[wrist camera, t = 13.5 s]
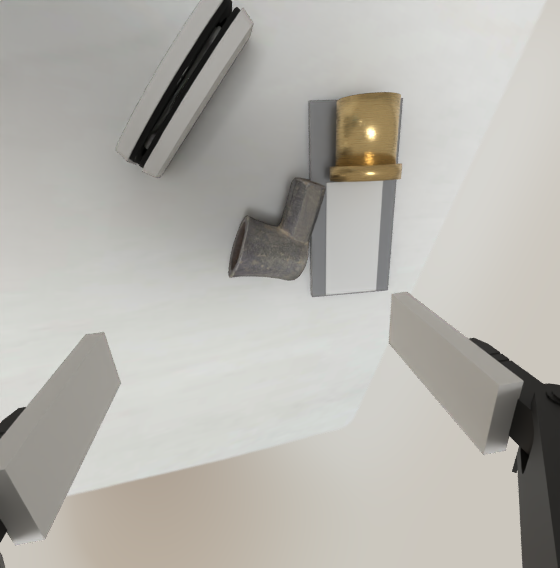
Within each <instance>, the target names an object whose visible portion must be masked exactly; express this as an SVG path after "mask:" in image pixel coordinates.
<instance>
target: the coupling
mask: <svg viewBox="0 0 560 568" xmlns="http://www.w3.org/2000/svg"><path fill="white" fill-rule="evenodd" d="M400 101H401V95H400V94H398V93H390V92H378V93H365V94H358V95H352V96H348V97H344V98H341V99H339V100H337V101H336V166H334V167H330V181H333V182H364V181H385V180H396V179H401V171H402V164H396V154H397V141H398V128H399V115H400Z"/></svg>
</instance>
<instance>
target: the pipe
mask: <svg viewBox="0 0 560 568" xmlns="http://www.w3.org/2000/svg"><path fill="white" fill-rule="evenodd" d="M325 190H326V187H325V186H323V185H321V184H319V183H317V182H313V181H311V180H307V179H303V178H295V179H294V180H293V181H292V183H291V187H290V191H289V195H288V198H287V202H286V207H285V210H284V214H283V217H282V220H281V223H280V225H279V226H278V227H276V226H272V225H268V224H265V223H262V222H260V221H257V220H255V219H253V218H251V217H249V216H246V217H245V218H244V220H243V221H242V223H241V225H240V227H239V230H238V232H237V235H236V238H235V241H234V244H233V248H232V252H231V257H230V263H229V271H228V273H229V277H230V278H232V277H240V276H256V277H271V278H279V279H283V280H295V279H296V278H298V277H299V276H300V275H301V273H302V272H303V270H304V268H305V266H306V263H307V259H308V247H309V240H310V238H311V235H312V232H313V229H314V226H315V223H316V221H317V218H318V214H319V211H320V208H321V205H322V202H323V198H324V194H325Z"/></svg>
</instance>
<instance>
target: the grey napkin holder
mask: <svg viewBox="0 0 560 568" xmlns="http://www.w3.org/2000/svg"><path fill="white" fill-rule="evenodd" d="M252 27H253V22H252V20H251V19H250V17H249V16H248V14H247V13H246V11H245V9H244V8H242V9H241V10H240V9H239V8H238V7H236V8H235V9H234V10H233V12H232V1H231V0H200V2H199V3H198V5H197V6H196V8H195V9H194V11H193V12H192V14H191V15H190V17H189V18H188V20H187V21H186V23H185V24H184V26H183V28H182V29H181V31H180V32H179V34H178V35H177V37H176V39H175V40H174V42H173V43H172V45H171V47H170V48H169V50H168V52H167V53H166V55H165V56H164V58H163V60H162V61H161V63H160V65H159V67H158V68H157V70H156V72H155V74H154V75H153V77H152V79H151V81H150V82H149V84H148V86H147V88H146V89H145V91H144V93H143V95H142V97H141V99H140V101H139V102H138V104H137V106H136V108H135V110H134V112H133V113H132V115H131V117H130V119H129V121H128V123H127V125H126V127H125V129H124V131H123V133H122V135H121V137H120V139H119V141H118V143H117V146H116V151H117V152H118V153H119V154H120V155H121V156H122V157H123V158H124V159H125V160H126V161H127V162H130V163H133V164H135V165H137V164H139V166H140V167H142V168H143V170H142V172H144V173H146V174H149V175H151V176H153V177H156V178H160V177H161V175H162V174H163V172H164V171H165V169H166V167H167V166H168V164H169V163H170V161H171V160H172V158H173V156H174V155H175V153H176V152H177V150H178V149H179V147H180V145H181V144H182V142H183V141H184V139H185V138H186V136H187V134H188V133H189V131H190V130H191V128H192V127H193V125H194V123H195V122H196V120H197V119H198V117H199V116H200V114H201V112H202V111H203V109H204V108H205V106H206V105H207V103H208V101H209V100H210V98H211V97H212V95H213V94H214V92H215V90H216V89H217V87H218V86H219V84H220V83H221V81H222V79H223V78H224V76H225V75H226V73H227V72H228V70H229V68H230V67H231V65H232V64H233V62H234V61H235V59H236V57H237V56H238V54H239V53H240V51H241V50H242V48H243V46H244V45H245V43H246V42H247V40H248V39H249V37H250V34H251V31H252ZM188 78H189V79H188ZM187 79H188V81H187V83H186V84H185V82H186V80H187ZM184 84H185V86H184V87H183V85H184ZM182 87H183V89H182V91H181V92H180V90H181V88H182ZM179 92H180V94H179V96H178V97H177V95H178V93H179ZM176 97H177V99H176V101H175V102H174V100H175V98H176ZM173 102H174V104H173V106H172V103H173ZM171 106H172V107H171Z"/></svg>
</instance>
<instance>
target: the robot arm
mask: <svg viewBox="0 0 560 568" xmlns="http://www.w3.org/2000/svg"><path fill="white" fill-rule="evenodd" d="M389 344H390V345H391V346H392V348H393V349H394V350H395V351H396V352H397V354H398V355H399V356H400V357H401V358H402V359H403V360H404V362H405V363H406V364H407V365H408V366H409V368H410V369H411V370H412V371H413V372H414V374H415V375H416V376H417V377H418V378H419V379H420V381H421V382H422V383H423V384H424V385H425V386H426V388H427V389H428V390H429V391H430V392H431V394H432V395H433V396H434V397H435V398H436V399H437V401H438V402H439V403H440V404H441V405H442V407H443V408H444V409H445V410H446V411H447V412H448V414H449V415H450V416H451V417H452V418H453V419H454V421H455V422H456V423H457V424H458V425H459V427H460V428H461V429H462V430H463V431H464V432H465V434H466V435H467V436H468V437H469V438H470V439H471V441H472V442H473V443H474V444H475V445H476V447H477V448H478V449H479V450H480V451H481V453H482V454H483V455H485V454H491V453H496V452H501V451H505V450H506V447H507V443H508V439H509V436H510V437H511V438H512V439H513V440H514V441H515V442H516V443H517V444H518V445H519V449H518V452H517V456H516V459H515V463H514V466H513V470H512V472H515V473H517V470H518V486H519V504H520V526H521V544H522V545H521V546H522V564H523V568H560V385H556V384H543V383H541V382H540V381H539V380H537V379H536V378H535V377H533V376H532V375H530V374H529V373H528V372H526V371H525V370H523V369H522V368H521V367H519V366H518V365H516V364H515V363H514V362H513V361H509V359H508V358H507V357H505V356H504V355H503V354H500V352H499V351H497V350H496V349H494V348H493V347H492V346H490V345H489V344H487V343H485V342H482V341H480V340H478V339H476V338H470V339H468V338H467V337H465V336H464V335H463V334H461V333H460V332H459V331H458V330H456V329H455V328H454V327H452V326H451V325H450V324H448V323H447V322H446V321H445V320H443V319H442V318H441V317H439V316H438V315H437V314H435V313H434V312H433V311H431V310H430V309H429V308H427V307H426V306H425V305H424V304H422V303H421V302H420V301H418V300H417V299H416V298H414V297H413V296H412V295H411V294H409V293H408V292H402V293H394V294H392V298H391V314H390V330H389ZM120 384H121V382H120V379H119V376H118V373H117V370H116V367H115V364H114V361H113V358H112V355H111V352H110V348H109V345H108V342H107V339H106V336H105V333H104V332H101V333H93V334H86V335H85V336H84V337H83V338H82V340H81V341H80V342H79V343H78V344H77V346H76V347H75V348H74V349H73V351H72V352H71V353H70V354H69V355H68V357H67V358H66V359H65V360H64V362H63V363H62V364H61V365H60V366H59V368H58V369H57V370H56V371H55V373H54V374H53V375H52V376H51V378H50V379H49V380H48V381H47V382H46V384H45V385H44V386H43V387H42V389H41V390H40V391H39V392H38V393H37V395H36V396H35V397H34V398H33V400H32V401H31V402H30V403H29V404H28V406H27V407H23V408H18V409H17V410H16V411H14V412H13V413H12V414H11V415H9V416H8V417H7V418H5V419H4V420H3V421H2V422H1V423H0V542H1V540H2V539H3V537H4V535H5V534H6V532H7V533H8V535H9V536H10V538H11V540H12V541H13V543H14V544H15V545H20V544H25V543H31V542H36V541H41V540H45V539H46V537H47V534H48V532H49V530H50V528H51V526H52V524H53V522H54V520H55V518H56V516H57V514H58V512H59V510H60V508H61V506H62V504H63V502H64V499H65V497H66V495H67V493H68V491H69V489H70V487H71V485H72V483H73V481H74V479H75V477H76V475H77V473H78V471H79V469H80V466H81V464H82V462H83V460H84V458H85V456H86V454H87V452H88V450H89V448H90V446H91V444H92V442H93V440H94V438H95V436H96V433H97V431H98V429H99V427H100V425H101V423H102V421H103V419H104V417H105V415H106V413H107V411H108V409H109V407H110V405H111V403H112V401H113V398H114V396H115V394H116V392H117V390H118V388H119V386H120ZM0 568H5V565H4V561H3V557H2V555H1V553H0Z"/></svg>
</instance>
